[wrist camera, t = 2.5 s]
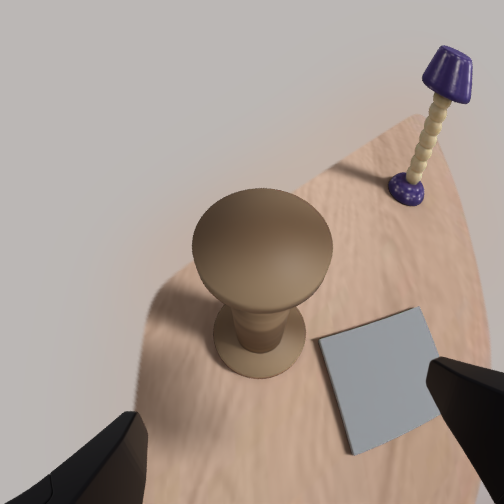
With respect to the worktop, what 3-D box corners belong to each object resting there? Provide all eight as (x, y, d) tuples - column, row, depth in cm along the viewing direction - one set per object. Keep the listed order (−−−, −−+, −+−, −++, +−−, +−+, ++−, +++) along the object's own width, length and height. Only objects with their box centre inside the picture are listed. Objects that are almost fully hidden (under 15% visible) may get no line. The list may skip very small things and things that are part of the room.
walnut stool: (314, 365, 20) (374, 295, 10) (224, 387, 19) (187, 341, 9) (289, 287, 23) (313, 169, 13) (208, 305, 22) (170, 194, 12)
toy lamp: (377, 181, 30) (422, 37, 16) (401, 170, 31) (446, 41, 17) (407, 212, 27) (473, 66, 13) (431, 197, 29) (491, 68, 15)
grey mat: (451, 406, 17) (455, 405, 17) (352, 455, 16) (354, 455, 16) (416, 308, 22) (419, 306, 21) (318, 341, 21) (319, 339, 20)
